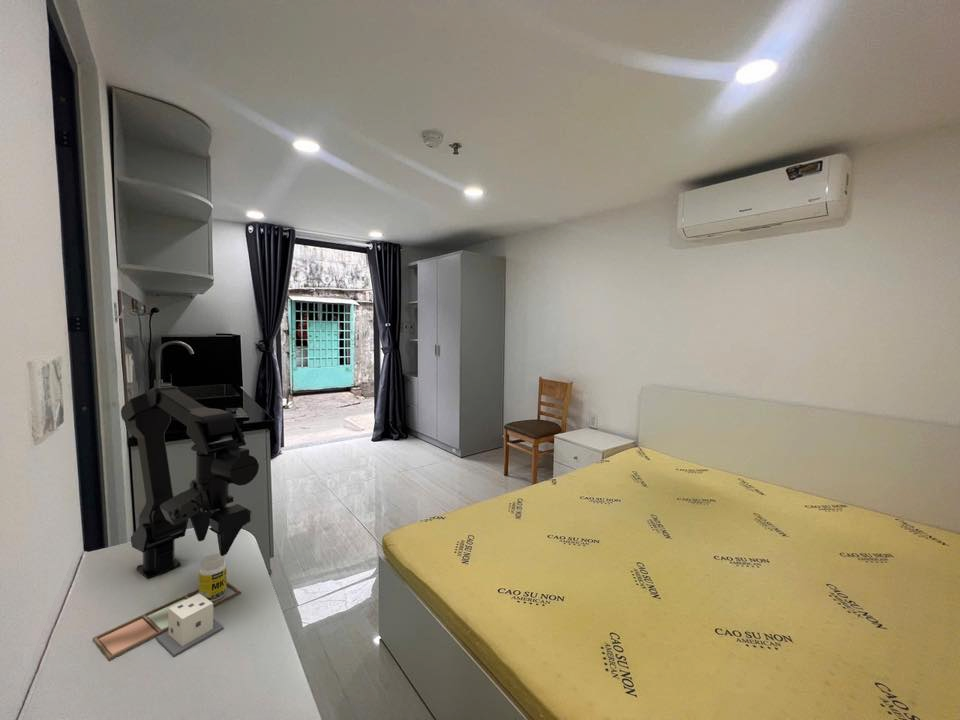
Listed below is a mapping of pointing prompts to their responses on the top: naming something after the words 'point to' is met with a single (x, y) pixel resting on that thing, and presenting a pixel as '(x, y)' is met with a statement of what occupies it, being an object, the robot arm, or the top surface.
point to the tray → (143, 628)
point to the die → (190, 619)
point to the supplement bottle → (212, 576)
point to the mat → (176, 648)
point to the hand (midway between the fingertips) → (212, 547)
